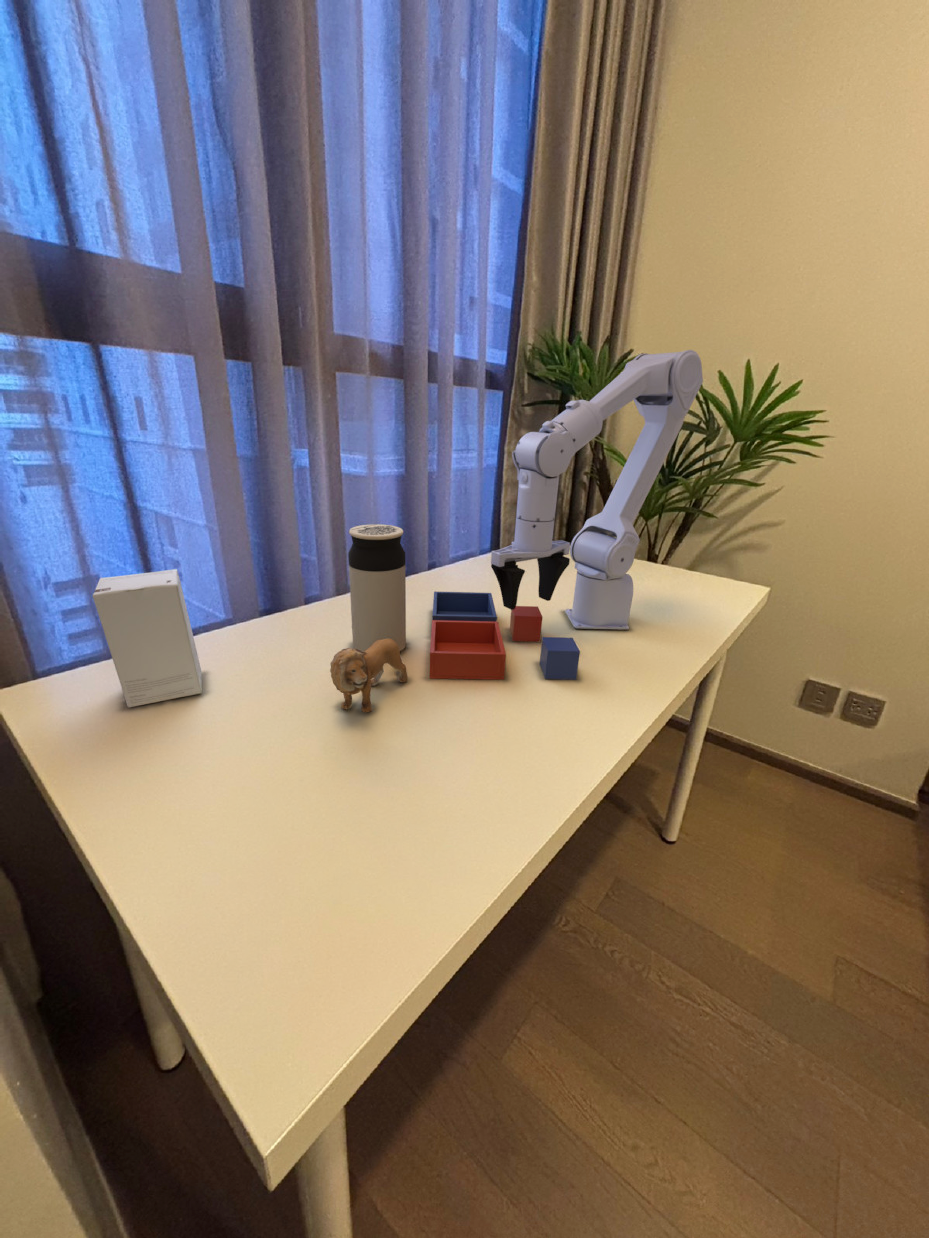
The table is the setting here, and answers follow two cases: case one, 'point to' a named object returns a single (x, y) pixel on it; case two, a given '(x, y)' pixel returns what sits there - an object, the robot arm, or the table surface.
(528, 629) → the red block
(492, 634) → the red bin
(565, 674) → the blue block
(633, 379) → the robot arm
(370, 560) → the travel mug
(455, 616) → the blue bin
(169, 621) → the cosmetic box
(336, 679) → the lion figurine
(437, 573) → the table surface
